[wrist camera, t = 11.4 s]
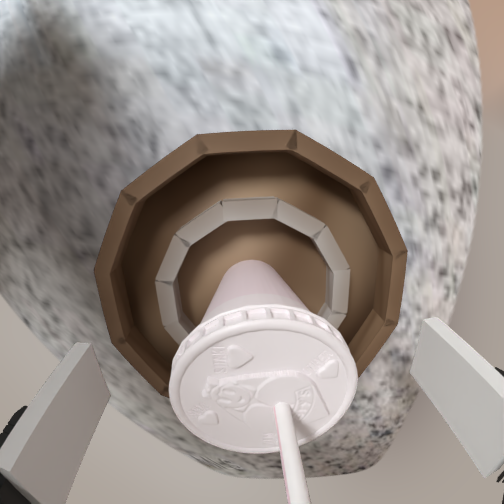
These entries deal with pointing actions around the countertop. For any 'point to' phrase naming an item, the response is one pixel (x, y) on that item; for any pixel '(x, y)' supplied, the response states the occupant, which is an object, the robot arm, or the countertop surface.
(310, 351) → the smoothie
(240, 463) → the countertop surface
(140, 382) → the countertop surface
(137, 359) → the tray
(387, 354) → the countertop surface
